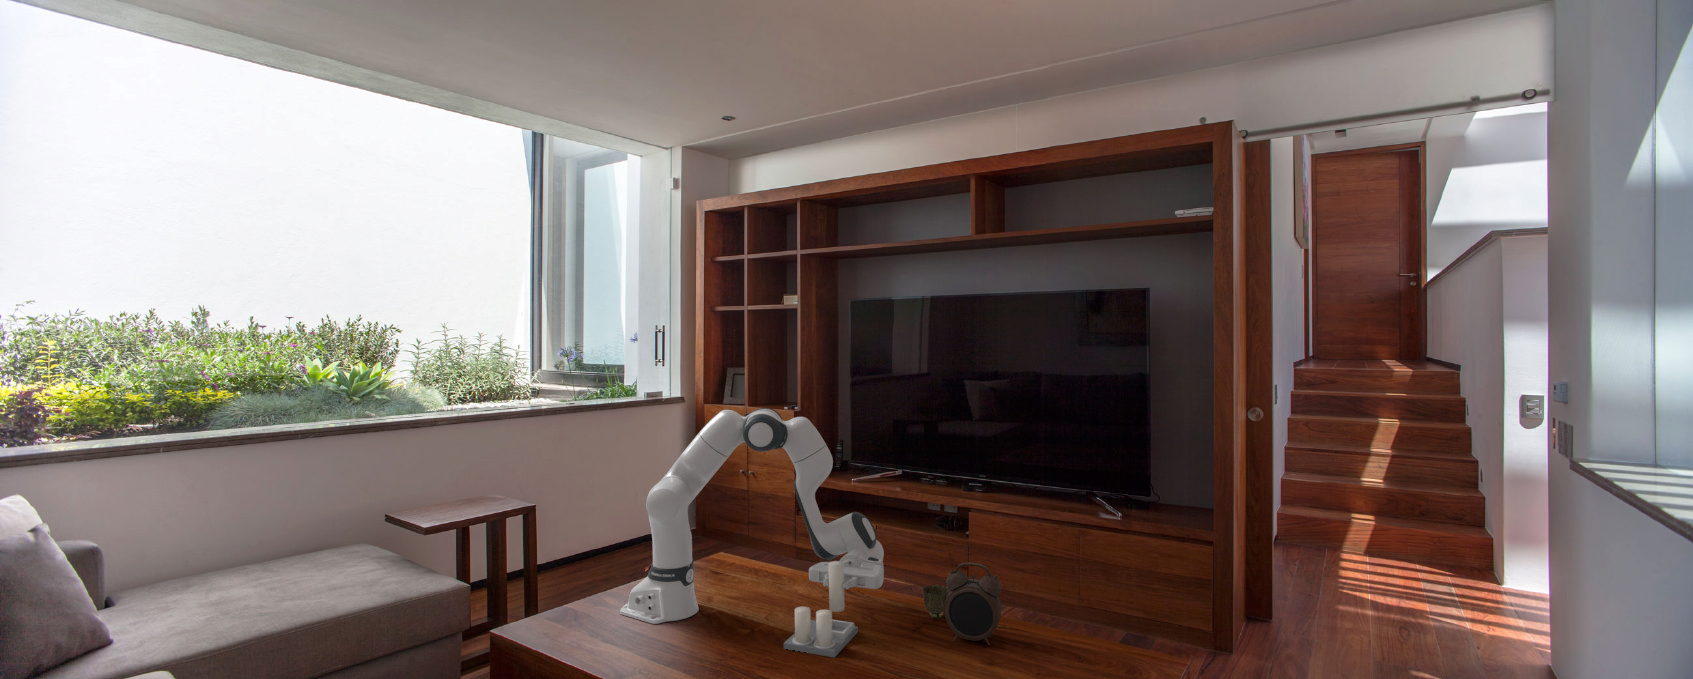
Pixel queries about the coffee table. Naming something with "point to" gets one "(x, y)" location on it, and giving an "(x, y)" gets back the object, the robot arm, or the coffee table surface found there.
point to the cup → (935, 600)
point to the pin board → (821, 651)
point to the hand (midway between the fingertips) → (835, 585)
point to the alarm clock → (973, 604)
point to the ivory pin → (836, 586)
